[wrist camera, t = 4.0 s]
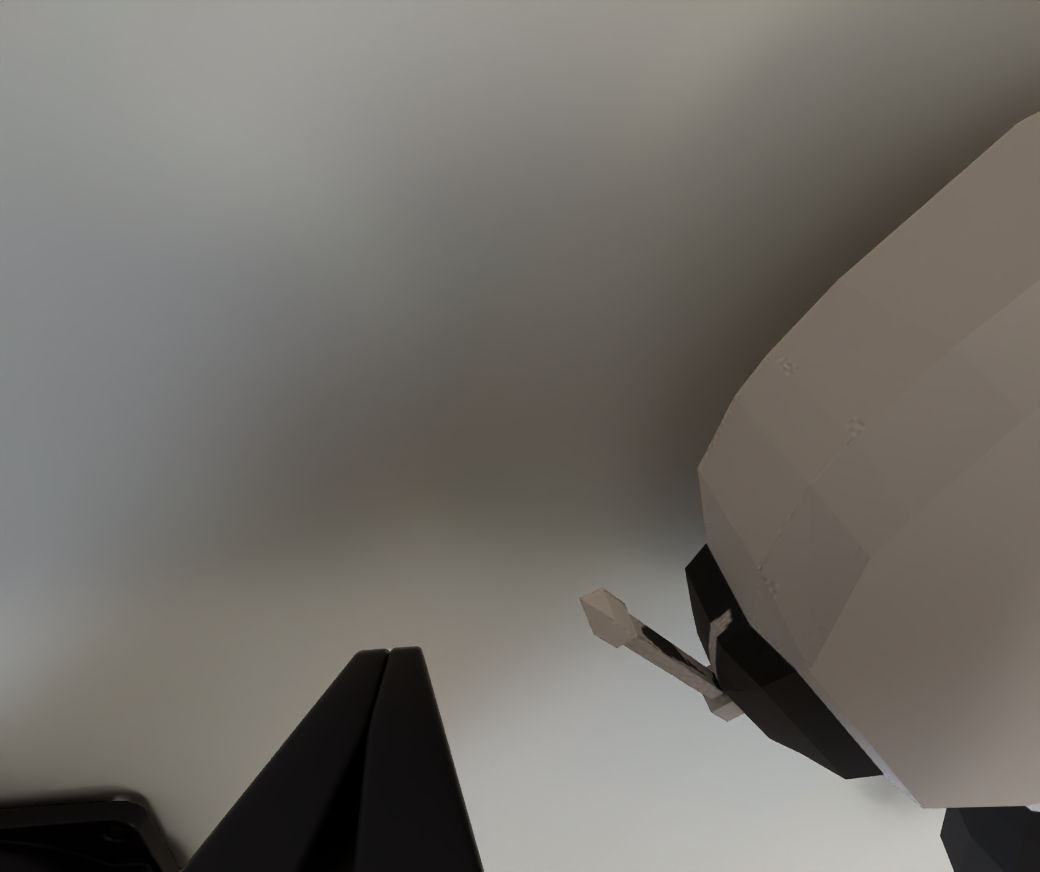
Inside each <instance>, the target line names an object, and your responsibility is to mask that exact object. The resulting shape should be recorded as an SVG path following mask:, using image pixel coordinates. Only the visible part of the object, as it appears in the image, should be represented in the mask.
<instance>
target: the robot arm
mask: <svg viewBox="0 0 1040 872" xmlns="http://www.w3.org/2000/svg"><path fill="white" fill-rule="evenodd" d="M0 872H484V869H483V866H482V862H481V859H480V855H479V851H478V848H477V844H476V841H475V837H474V834H473V830H472V826H471V823H470V819H469V816H468V812H467V809H466V805H465V801H464V798H463V794H462V791H461V787H460V784H459V780H458V776H457V773H456V769H455V766H454V762H453V759H452V755H451V751H450V748H449V744H448V741H447V737H446V734H445V730H444V726H443V723H442V719H441V716H440V712H439V709H438V705H437V701H436V698H435V694H434V691H433V687H432V684H431V680H430V676H429V673H428V669H427V666H426V662H425V658H424V655H423V652H422V649H421V648H420V647H418V646H412V647H399V648H393V649H392V650H391V651H389V650H387V649H373V650H362V651H359V652H358V653H356V654H355V655H354V657H353V658H352V659H351V660H350V662H349V663H348V664H347V665H346V667H345V668H344V669H343V670H342V671H341V673H340V674H339V675H338V676H337V678H336V679H335V680H334V681H333V683H332V684H331V685H330V686H329V688H328V689H327V690H326V691H325V693H324V694H323V695H322V696H321V698H320V699H319V700H318V701H317V703H316V704H315V705H314V706H313V707H312V709H311V710H310V711H309V712H308V714H307V715H306V716H305V717H304V719H303V720H302V721H301V722H300V724H299V725H298V726H297V727H296V729H295V730H294V731H293V732H292V734H291V735H290V736H289V737H288V739H287V740H286V741H285V742H284V743H283V745H282V746H281V747H280V748H279V750H278V751H277V752H276V753H275V755H274V756H273V757H272V758H271V760H270V761H269V762H268V763H267V765H266V766H265V767H264V768H263V770H262V771H261V772H260V773H259V775H258V776H257V777H256V778H255V779H254V781H253V782H252V783H251V784H250V786H249V787H248V788H247V789H246V791H245V792H244V793H243V794H242V796H241V797H240V798H239V799H238V801H237V802H236V803H235V804H234V806H233V807H232V808H231V809H230V811H229V812H228V813H227V814H226V815H225V817H224V818H223V819H222V820H221V822H220V823H219V824H218V825H217V827H216V828H215V829H214V830H213V832H212V833H211V834H210V835H209V837H208V838H207V839H206V840H205V842H204V843H203V844H202V845H201V847H200V848H199V849H198V850H197V851H196V853H195V854H194V855H193V856H192V858H191V859H190V860H189V861H188V863H187V864H186V865H185V866H184V868H183V869H182V870H181V871H180V869H179V867H178V865H177V864H176V862H175V860H174V858H173V856H172V854H171V853H170V851H169V849H168V847H167V845H166V843H165V842H164V840H163V838H162V836H161V834H160V832H159V830H158V829H157V827H156V825H155V823H154V821H153V819H152V818H151V816H150V814H149V813H148V811H147V810H146V809H145V808H144V807H142V806H140V805H138V804H136V803H132V802H129V801H107V802H94V803H82V804H69V805H56V806H43V807H30V808H17V809H4V810H0Z"/></svg>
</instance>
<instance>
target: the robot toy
mask: <svg viewBox="0 0 1040 872" xmlns="http://www.w3.org/2000/svg"><path fill="white" fill-rule="evenodd" d="M698 477H699V485H700V493H701V501H702V510H703V518H704V526H705V534H706V542H707V543H706V544H705V545H704V546H703V548H702V549H701V550H700V551H699V552H698V554H697V555H696V556H695V557H694V558H693V560H692V561H691V562H690V563H689V564H688V565H687V567H686V568H685V572H686V577H687V583H688V589H689V594H690V600H691V606H692V611H693V616H694V620H695V624H696V629H697V633H698V636H699V638H700V641H701V643H702V645H703V648H704V650H705V652H706V655H707V657H708V659H709V662H710V664H711V665H710V666H708V667H705V666H703V665H702V664H700V663H699V662H697V661H696V660H695V659H693V658H692V657H690V656H689V655H687V654H686V653H685V652H683V651H682V650H680V649H679V648H677V647H676V646H675V645H673V644H672V643H670V642H669V641H667V640H666V639H665V638H663V637H662V636H660V635H659V634H657V633H656V632H655V631H653V630H652V629H650V628H649V627H647V626H646V625H645V624H643V623H642V622H640V621H639V620H637V619H636V618H635V617H633V616H632V615H630V614H629V613H628V611H627V609H626V606H625V604H624V603H623V602H622V601H620V600H619V599H617V598H616V597H615V596H613V595H612V594H610V593H609V592H608V591H606V590H605V589H603V588H601V589H599V590H597V591H594V592H592V593H590V594H588V595H585V596H583V597H581V598H579V599H580V601H581V604H582V606H583V609H584V611H585V613H586V616H587V618H588V621H589V623H590V626H591V628H592V631H593V633H594V635H596V636H598V637H599V638H601V639H602V640H604V641H606V642H607V643H609V644H611V645H612V646H614V647H616V648H618V647H620V646H621V645H624V646H626V647H628V648H629V649H631V650H632V651H634V652H636V653H637V654H639V655H641V656H642V657H644V658H645V659H647V660H649V661H650V662H652V663H653V664H655V665H657V666H658V667H660V668H662V669H663V670H665V671H666V672H668V673H670V674H671V675H673V676H675V677H676V678H678V679H679V680H681V681H683V682H684V683H686V684H687V685H689V686H691V687H692V688H694V689H696V690H697V691H699V692H700V693H702V694H703V696H704V698H705V700H706V702H707V704H708V706H709V709H710V711H711V712H712V713H713V714H715V715H717V716H719V717H720V718H722V719H724V720H725V721H727V722H728V721H730V720H732V719H734V718H735V717H737V716H739V715H741V714H743V713H745V714H746V715H747V716H748V717H749V718H750V719H751V720H752V721H753V722H754V723H755V724H756V725H757V726H758V727H759V728H760V729H761V730H762V731H763V732H764V733H765V734H766V735H767V736H768V737H769V738H770V739H772V740H774V741H776V742H778V743H780V744H782V745H784V746H787V747H789V748H791V749H793V750H795V751H797V752H799V753H801V754H803V755H805V756H806V757H808V758H810V759H811V760H813V761H815V762H817V763H818V764H820V765H822V766H823V767H825V768H827V769H829V770H830V771H832V772H834V773H835V774H837V775H839V776H841V777H842V778H844V779H853V778H861V777H869V776H878V775H883V776H884V777H886V778H887V779H888V780H889V781H891V782H892V783H893V784H894V785H895V786H897V787H898V788H899V789H900V790H901V791H903V792H904V793H905V794H906V795H907V796H909V797H910V798H911V799H912V800H914V801H915V802H916V803H917V804H918V805H920V806H921V807H922V808H947V809H946V813H945V817H944V822H943V826H942V830H941V834H940V836H941V839H942V842H943V844H944V847H945V849H946V852H947V854H948V857H949V859H950V862H951V865H952V867H953V870H954V872H1040V111H1039V112H1037V113H1035V114H1033V115H1031V116H1029V117H1027V118H1026V119H1024V120H1022V121H1020V122H1018V123H1017V124H1016V125H1015V126H1013V127H1012V128H1011V129H1010V130H1009V131H1008V132H1007V133H1005V134H1004V135H1003V136H1002V137H1001V138H1000V139H999V140H997V141H996V142H995V143H994V144H993V145H992V146H990V147H989V148H988V149H987V150H986V151H985V152H984V153H982V154H981V155H980V156H979V157H978V158H977V159H976V160H974V161H973V162H972V163H971V164H970V165H969V166H968V167H966V168H965V169H964V170H963V171H962V172H961V173H960V174H958V175H957V176H956V177H955V178H954V179H953V180H952V181H950V182H949V183H948V184H947V185H946V186H945V187H944V188H942V189H941V190H940V191H939V192H938V193H937V194H936V195H934V196H933V197H932V198H931V199H930V200H929V201H928V202H926V203H925V204H924V205H923V206H922V207H921V208H920V209H918V210H917V211H916V212H915V213H914V214H913V215H912V216H910V217H909V218H908V219H907V220H906V221H905V222H904V223H902V224H901V225H900V226H899V227H898V228H897V229H896V230H894V231H893V232H892V233H891V234H890V235H889V236H887V237H886V238H885V239H884V240H883V241H882V242H881V243H879V244H878V245H877V246H876V247H875V248H874V249H873V250H871V251H870V252H869V253H868V254H867V255H866V256H865V257H863V258H862V259H861V260H860V261H859V262H858V263H857V264H855V265H854V266H853V267H852V268H851V269H850V270H849V271H847V272H846V273H845V274H844V275H843V276H842V277H841V278H839V279H838V280H837V281H836V282H835V283H834V284H833V285H832V286H831V288H830V289H829V290H828V291H827V292H826V293H825V294H824V295H823V296H822V297H821V298H820V299H819V300H818V301H817V302H816V303H815V304H814V305H813V306H812V308H811V309H810V310H809V311H808V312H807V313H806V314H805V315H804V316H803V317H802V318H801V319H800V320H799V321H798V322H797V323H796V324H795V325H794V326H793V328H792V329H791V330H790V331H789V332H788V333H787V334H786V335H785V336H784V337H783V338H782V339H781V340H780V341H779V342H778V343H777V344H776V345H775V346H774V348H773V349H772V350H771V351H770V352H769V353H768V354H767V355H766V356H765V357H764V359H763V360H762V361H761V362H760V364H759V365H758V366H757V368H756V369H755V370H754V371H753V373H752V374H751V375H750V377H749V378H748V379H747V380H746V382H745V383H744V384H743V386H742V387H741V388H740V389H739V391H738V392H737V393H736V395H735V396H734V398H733V400H732V402H731V403H730V405H729V407H728V409H727V411H726V413H725V415H724V417H723V419H722V421H721V423H720V425H719V427H718V429H717V431H716V433H715V435H714V437H713V439H712V441H711V443H710V445H709V447H708V449H707V451H706V453H705V455H704V457H703V459H702V461H701V463H700V465H699V467H698Z"/></svg>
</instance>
